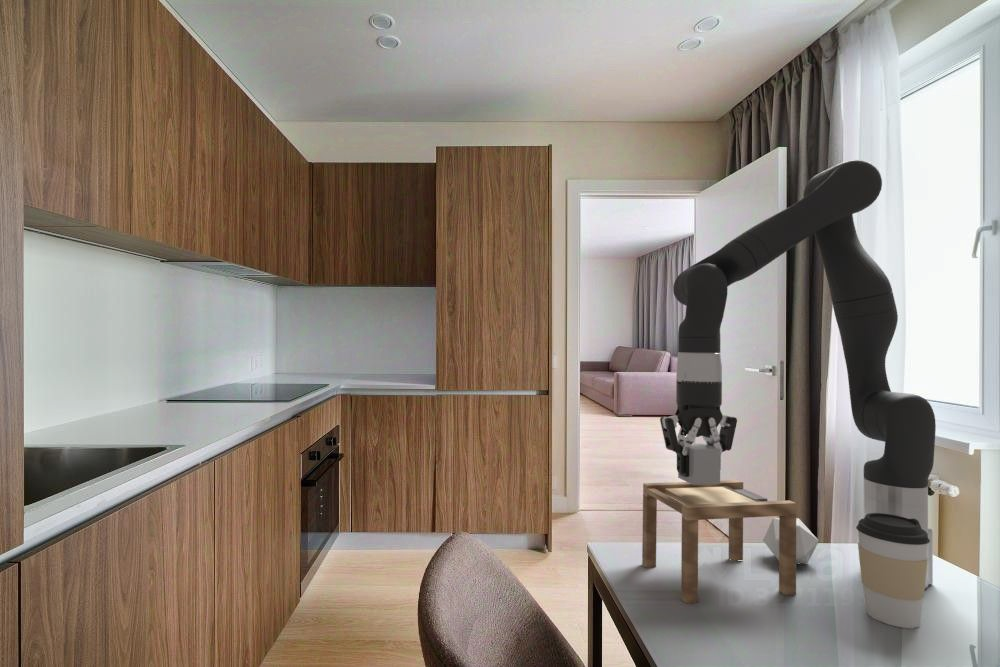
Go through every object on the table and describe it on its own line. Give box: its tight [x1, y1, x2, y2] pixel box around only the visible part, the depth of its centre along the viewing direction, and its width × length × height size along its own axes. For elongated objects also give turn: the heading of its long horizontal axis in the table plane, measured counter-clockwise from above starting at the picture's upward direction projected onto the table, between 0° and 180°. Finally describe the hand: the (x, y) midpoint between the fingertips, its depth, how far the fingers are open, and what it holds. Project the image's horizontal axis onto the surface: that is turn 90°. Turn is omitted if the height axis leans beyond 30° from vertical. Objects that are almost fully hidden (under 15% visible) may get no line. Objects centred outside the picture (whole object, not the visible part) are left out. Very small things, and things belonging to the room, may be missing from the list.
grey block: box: [677, 443, 721, 485], centre depth 91 cm, size 5×5×6 cm
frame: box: [641, 479, 797, 604], centre depth 91 cm, size 20×15×15 cm
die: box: [762, 517, 820, 564], centre depth 100 cm, size 8×9×10 cm
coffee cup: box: [855, 513, 930, 629], centre depth 80 cm, size 9×9×15 cm
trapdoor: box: [665, 486, 768, 505], centre depth 92 cm, size 15×11×3 cm
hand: (698, 474), depth 91 cm, fingers closed on grey block, 5 cm apart
